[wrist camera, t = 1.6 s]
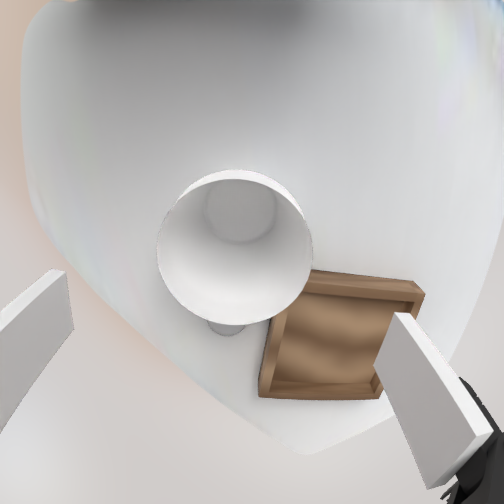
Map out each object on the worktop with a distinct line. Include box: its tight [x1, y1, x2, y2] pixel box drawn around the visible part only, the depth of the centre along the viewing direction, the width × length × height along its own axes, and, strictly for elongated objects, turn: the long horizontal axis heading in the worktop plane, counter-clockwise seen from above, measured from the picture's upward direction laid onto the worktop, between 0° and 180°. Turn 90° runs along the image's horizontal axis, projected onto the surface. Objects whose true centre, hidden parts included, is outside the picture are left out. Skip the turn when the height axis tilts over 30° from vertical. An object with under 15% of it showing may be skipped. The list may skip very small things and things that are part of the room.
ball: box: [207, 320, 245, 336], centre depth 30 cm, size 4×4×4 cm
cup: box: [157, 169, 313, 325], centre depth 23 cm, size 9×9×12 cm
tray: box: [258, 269, 425, 400], centre depth 32 cm, size 15×15×3 cm
